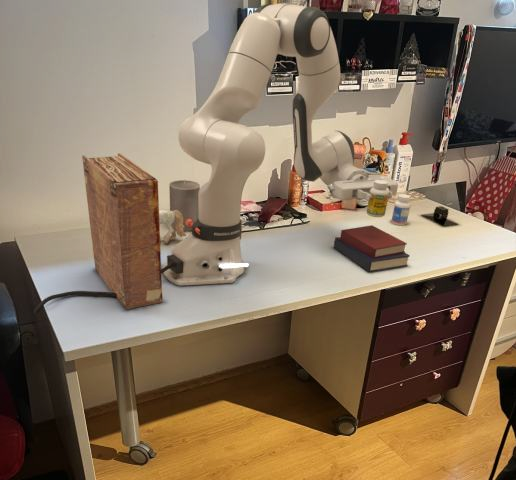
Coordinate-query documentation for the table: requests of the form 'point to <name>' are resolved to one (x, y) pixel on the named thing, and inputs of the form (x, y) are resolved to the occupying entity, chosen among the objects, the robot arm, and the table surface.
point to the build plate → (440, 217)
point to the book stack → (372, 248)
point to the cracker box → (358, 163)
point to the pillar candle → (184, 200)
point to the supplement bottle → (378, 199)
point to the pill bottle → (401, 210)
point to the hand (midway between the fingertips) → (380, 196)
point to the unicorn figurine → (168, 219)
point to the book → (125, 228)
